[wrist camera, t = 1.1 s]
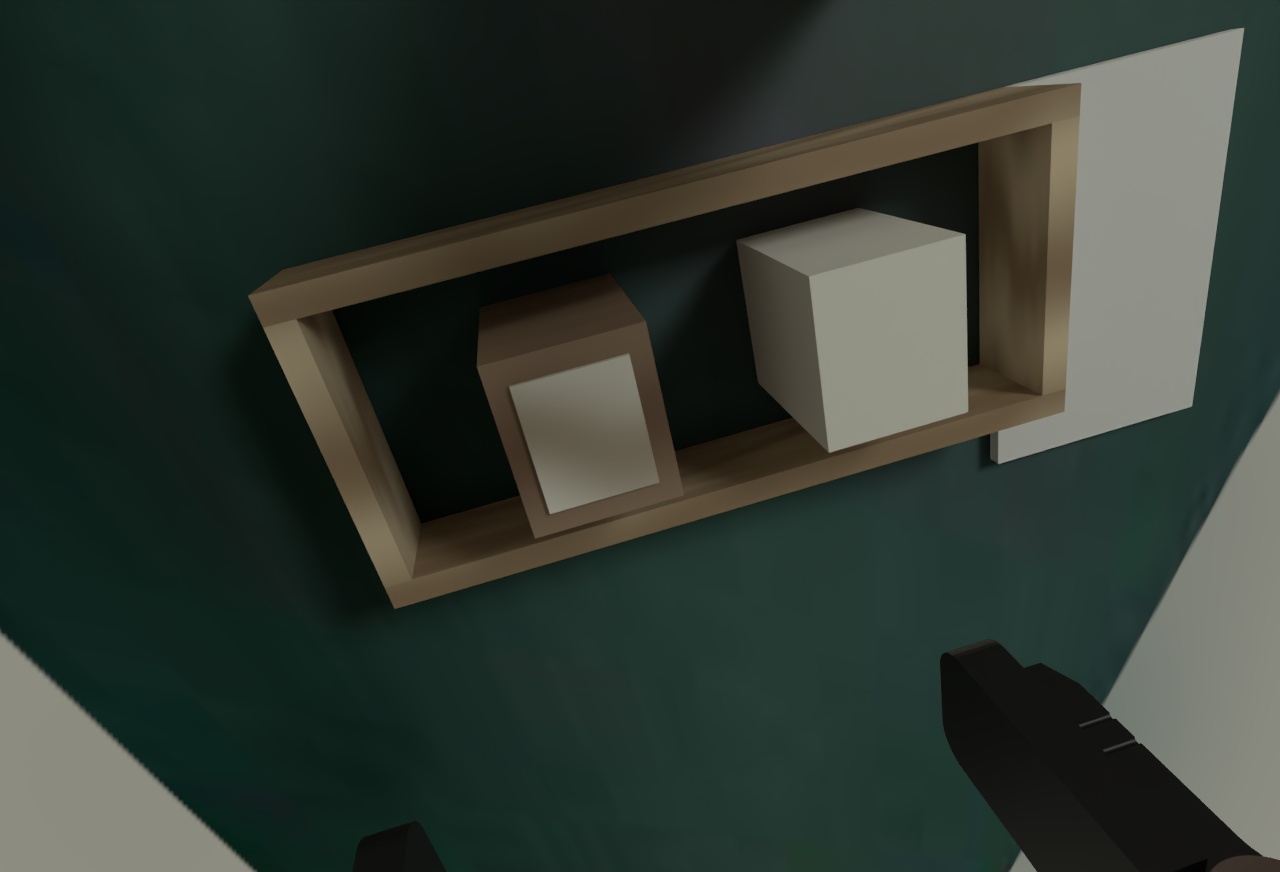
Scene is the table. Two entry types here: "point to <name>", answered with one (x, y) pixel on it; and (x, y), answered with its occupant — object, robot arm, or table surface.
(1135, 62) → the pad
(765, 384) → the cream block
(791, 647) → the table surface
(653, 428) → the walnut block
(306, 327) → the bin
